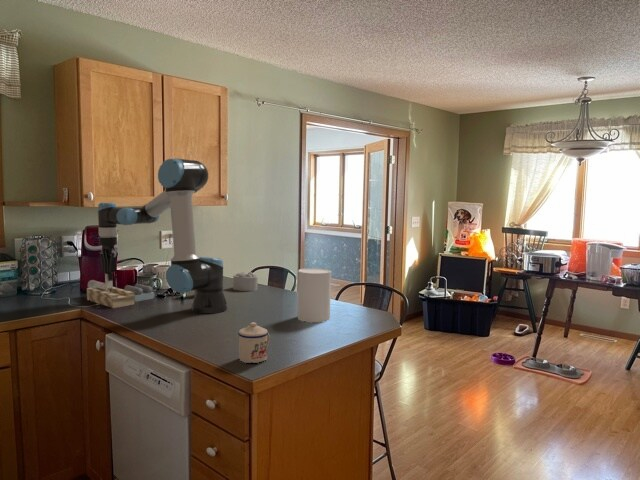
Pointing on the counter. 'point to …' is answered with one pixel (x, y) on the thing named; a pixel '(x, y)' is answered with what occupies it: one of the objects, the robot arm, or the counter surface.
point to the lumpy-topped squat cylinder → (245, 282)
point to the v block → (141, 292)
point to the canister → (314, 294)
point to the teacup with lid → (253, 343)
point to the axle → (99, 286)
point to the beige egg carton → (111, 297)
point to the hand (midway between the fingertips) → (109, 287)
